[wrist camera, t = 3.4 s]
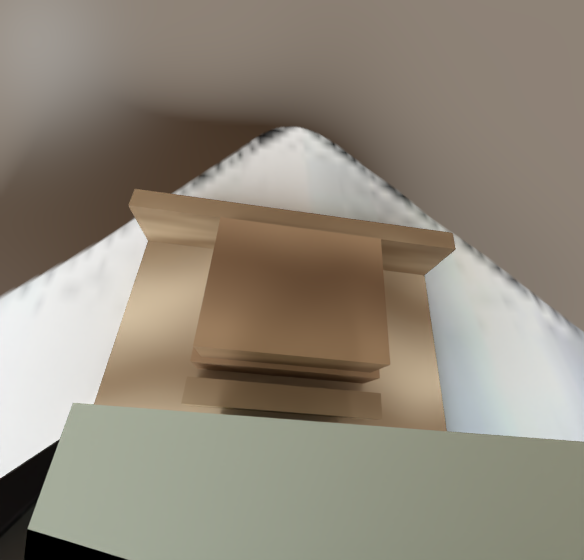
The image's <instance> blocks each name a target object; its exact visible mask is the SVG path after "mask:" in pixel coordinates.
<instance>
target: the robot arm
mask: <svg viewBox="0 0 584 560" xmlns="http://www.w3.org/2000/svg"><path fill="white" fill-rule="evenodd" d="M59 440H60V439H59ZM59 440H58V441H56V442H55V443H53V444H52V445H50V446H49V447H47V448H46V449H44V450H43V451H41V452H40V453H38V454H36V455H35V456H33V457H32V458H30V459H29V460H27V461H26V462H24V463H23V464H21V465H20V466H18V467H17V468H15V469H14V470H12V471H11V472H9V473H8V474H6V475H5V476H3V477H2V478H0V560H24V554H25V546H26V537H27V529H28V526H29V523H30V521H31V518H32V515H33V512H34V509H35V507H36V504H37V501H38V498H39V496H40V493H41V490H42V487H43V485H44V482H45V479H46V476H47V473H48V471H49V468H50V465H51V462H52V460H53V457H54V454H55V451H56V449H57V446H58V443H59Z"/></svg>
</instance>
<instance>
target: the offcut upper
mask: <svg viewBox="0 0 584 560" xmlns="http://www.w3.org/2000/svg"><path fill="white" fill-rule="evenodd" d="M193 347H194V348H195V349H196V351H197V352H198V353H199V355H200V356H201V357H207V358H217V359H228V360H239V361H250V362H261V363H271V364H282V365H293V366H304V367H315V368H325V369H336V370H347V371H358V372H369V373H371V372H374V371H376V370H379V369H381V368H384V367H386V366H389V365H390V353H389V339H388V326H387V313H386V300H385V287H384V274H383V261H382V247H381V239H379V238H372V237H364V236H357V235H349V234H342V233H335V232H327V231H320V230H312V229H305V228H297V227H290V226H282V225H275V224H267V223H260V222H253V221H245V220H238V219H230V218H223V217H220V222H219V227H218V231H217V236H216V241H215V245H214V250H213V255H212V259H211V264H210V269H209V273H208V278H207V283H206V287H205V292H204V297H203V301H202V306H201V311H200V315H199V320H198V325H197V329H196V334H195V339H194V343H193Z"/></svg>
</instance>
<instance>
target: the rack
mask: <svg viewBox="0 0 584 560" xmlns="http://www.w3.org/2000/svg"><path fill="white" fill-rule="evenodd" d="M128 206H129V207H130V209H131V211H132V213H133V215H134V216H135V218H136V220H137V222H138V224H139V225H140V227H141V229H142V231H143V232H144V234H145V236H146V238H147V240H148V243H147V246H146V249H145V252H144V255H143V258H142V261H141V264H140V267H139V270H138V273H137V276H136V279H135V282H134V285H133V288H132V291H131V294H130V297H129V300H128V303H127V306H126V309H125V312H124V315H123V318H122V321H121V324H120V327H119V330H118V333H117V336H116V339H115V342H114V345H113V348H112V351H111V354H110V357H109V360H108V363H107V366H106V369H105V372H104V375H103V378H102V381H101V384H100V387H99V390H98V393H97V396H96V400H95V403H94V405H107V406H120V407H133V408H147V409H160V410H173V411H186V412H199V413H212V414H225V415H238V416H251V417H264V418H278V419H291V420H304V421H317V422H330V423H343V424H356V425H369V426H382V427H395V428H409V429H422V430H435V431H447V430H446V423H445V416H444V409H443V402H442V395H441V388H440V381H439V374H438V367H437V360H436V353H435V346H434V339H433V332H432V325H431V318H430V311H429V304H428V297H427V290H426V283H425V276H424V275H425V274H427V273H428V272H429V271H430V270H431V269H433V268H434V267H435V266H436V265H437V264H439V263H440V262H441V261H442V260H443V259H445V258H446V257H447V256H448V255H449V254H451V253H452V252H453V251H454V250H455V249H456V248H455V244H454V239H453V234H452V233H449V232H442V231H435V230H428V229H420V228H413V227H406V226H399V225H392V224H384V223H377V222H370V221H363V220H356V219H349V218H341V217H334V216H327V215H320V214H313V213H305V212H298V211H291V210H284V209H277V208H269V207H262V206H255V205H248V204H241V203H233V202H226V201H219V200H212V199H205V198H197V197H190V196H183V195H176V194H169V193H162V192H154V191H147V190H139V189H135V190H134V193H133V195H132V197H131V200H130V203H129V205H128ZM220 217H223V218H230V219H238V220H245V221H253V222H260V223H267V224H275V225H282V226H290V227H297V228H305V229H312V230H320V231H327V232H335V233H342V234H349V235H357V236H364V237H372V238H379V239H381V247H382V261H383V274H384V287H385V300H386V313H387V326H388V339H389V353H390V365H389V366H386V367H384V368H381V369H379V372H380V378H379V379H376V380H373V381H370V382H367V383H364V384H362V383H351V382H340V381H329V380H317V379H306V378H295V377H284V376H272V375H261V374H250V373H239V372H228V371H216V370H205V369H197V368H196V367H195V365H194V364H193V363H192V362H191V361H190V360H191V355H192V350H193V343H194V339H195V334H196V329H197V325H198V320H199V315H200V311H201V306H202V301H203V297H204V292H205V287H206V283H207V278H208V273H209V269H210V264H211V259H212V255H213V250H214V245H215V241H216V236H217V231H218V227H219V222H220Z"/></svg>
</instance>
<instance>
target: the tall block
mask: <svg viewBox="0 0 584 560" xmlns="http://www.w3.org/2000/svg"><path fill="white" fill-rule="evenodd" d="M24 560H584V442H579V441H566V440H553V439H540V438H527V437H513V436H500V435H487V434H474V433H461V432H448V431H435V430H422V429H409V428H395V427H382V426H369V425H356V424H343V423H330V422H317V421H304V420H291V419H278V418H264V417H251V416H238V415H225V414H212V413H199V412H186V411H173V410H160V409H147V408H133V407H120V406H107V405H94V404H81V403H73V404H72V407H71V410H70V413H69V415H68V418H67V421H66V424H65V426H64V429H63V432H62V435H61V437H60V440H59V443H58V446H57V449H56V451H55V454H54V457H53V460H52V462H51V465H50V468H49V471H48V473H47V476H46V479H45V482H44V485H43V487H42V490H41V493H40V496H39V498H38V501H37V504H36V507H35V509H34V512H33V515H32V518H31V521H30V523H29V526H28V529H27V537H26V546H25V554H24Z"/></svg>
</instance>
